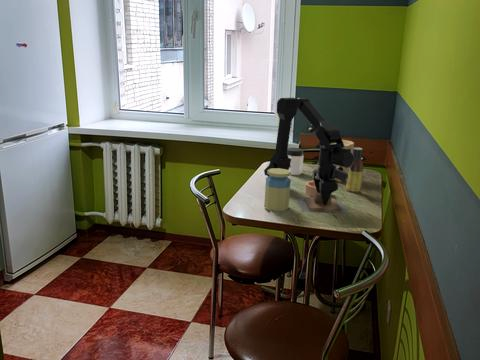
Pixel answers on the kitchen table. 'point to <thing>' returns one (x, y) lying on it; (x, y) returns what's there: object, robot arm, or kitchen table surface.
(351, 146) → the container
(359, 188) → the sauce bottle
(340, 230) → the kitchen table surface
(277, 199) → the jar
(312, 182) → the terracotta bowl
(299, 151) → the jar
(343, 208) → the charcoal mat
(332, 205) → the walnut cover
